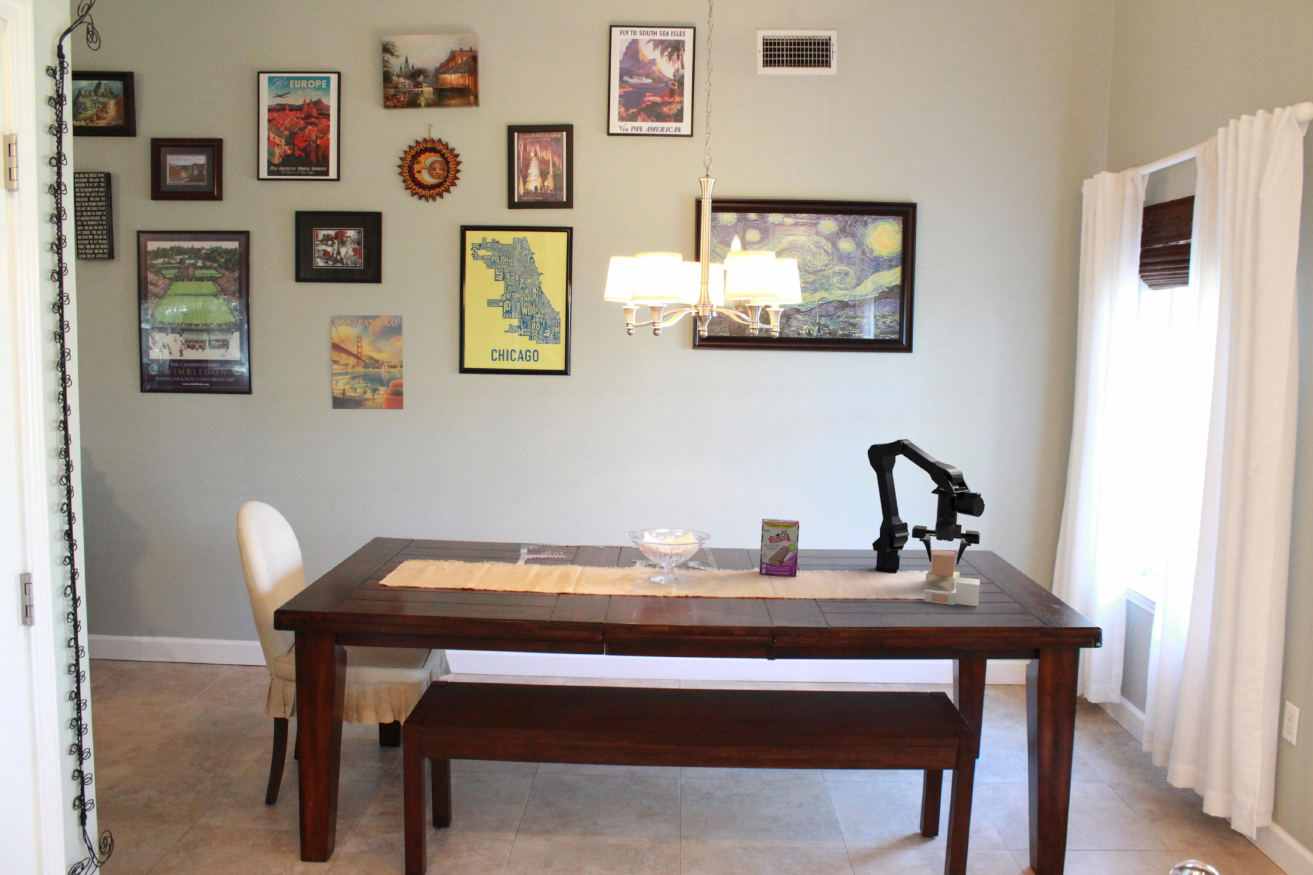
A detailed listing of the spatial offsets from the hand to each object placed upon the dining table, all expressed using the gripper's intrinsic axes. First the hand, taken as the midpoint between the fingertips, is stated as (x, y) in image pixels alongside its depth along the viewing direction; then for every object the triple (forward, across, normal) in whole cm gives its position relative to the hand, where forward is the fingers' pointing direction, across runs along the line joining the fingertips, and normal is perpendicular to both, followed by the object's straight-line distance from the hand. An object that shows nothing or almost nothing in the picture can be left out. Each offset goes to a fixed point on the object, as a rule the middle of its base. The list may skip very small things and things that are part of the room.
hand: (943, 563), depth 265 cm
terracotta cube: (+3, 0, 0) cm, 3 cm away
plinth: (+6, 0, -19) cm, 20 cm away
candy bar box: (+7, -47, -9) cm, 48 cm away
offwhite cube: (+7, +7, -15) cm, 18 cm away
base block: (+7, 0, 0) cm, 7 cm away
